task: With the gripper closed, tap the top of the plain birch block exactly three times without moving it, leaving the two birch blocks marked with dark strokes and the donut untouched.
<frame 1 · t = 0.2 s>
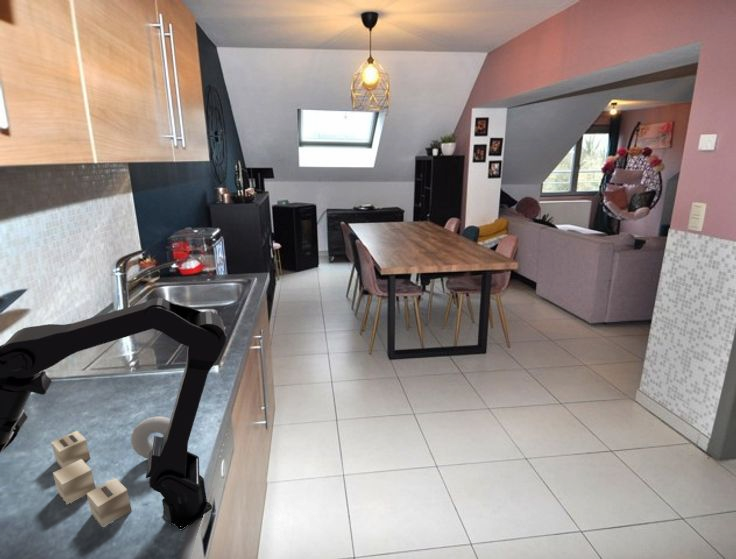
donut: (160, 457, 95), on the worktop
plain block: (77, 491, 86), on the worktop
two stroke block: (73, 460, 94), on the worktop
one stroke block: (111, 513, 81), on the worktop
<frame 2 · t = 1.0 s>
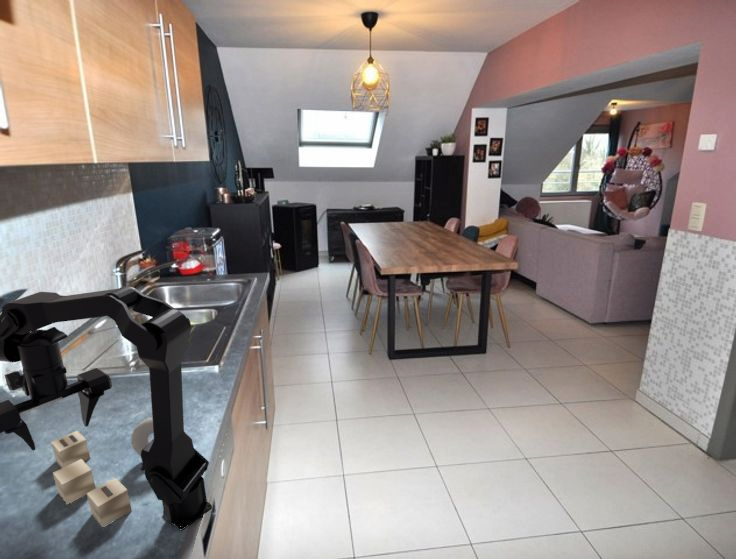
hand: (60, 437, 81), 13 cm above the worktop, tool pointing down, fingers open, 8 cm apart
nothing on the worktop moved.
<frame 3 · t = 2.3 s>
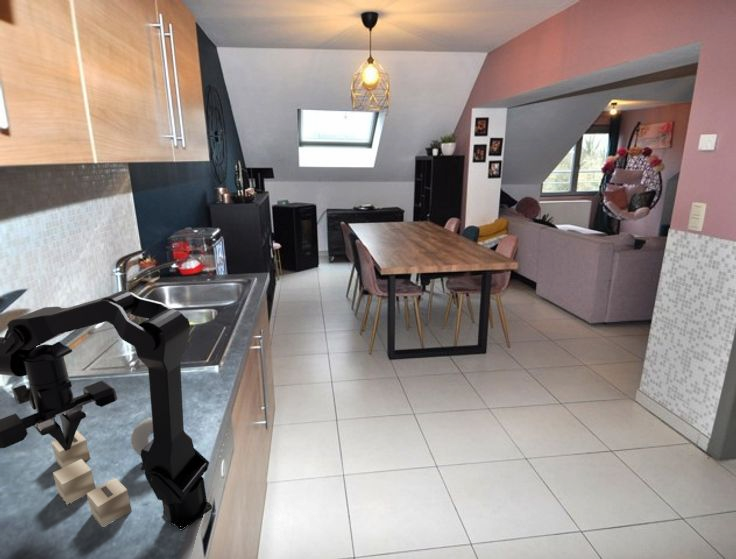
hand: (67, 449, 83), 10 cm above the worktop, tool pointing down, fingers closed
nothing on the worktop moved.
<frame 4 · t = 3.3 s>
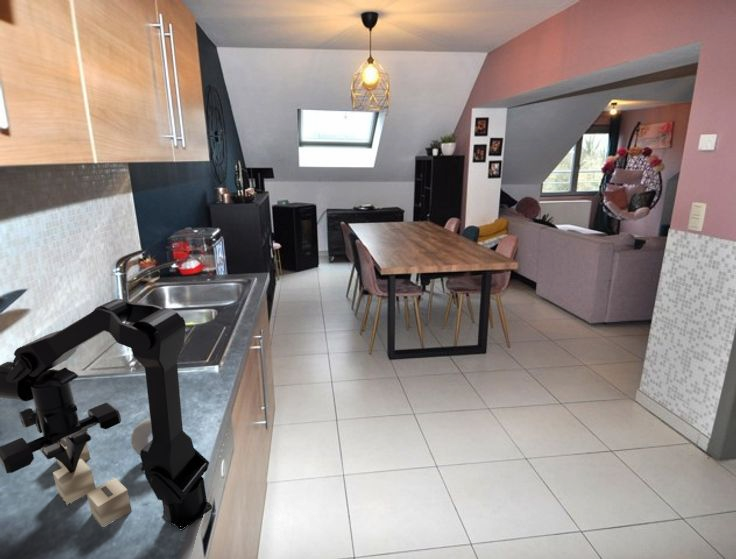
hand: (72, 471, 84), 5 cm above the worktop, tool pointing down, fingers closed, pressing on plain block
plain block: (77, 491, 86), on the worktop, touching gripper
everything else where it was.
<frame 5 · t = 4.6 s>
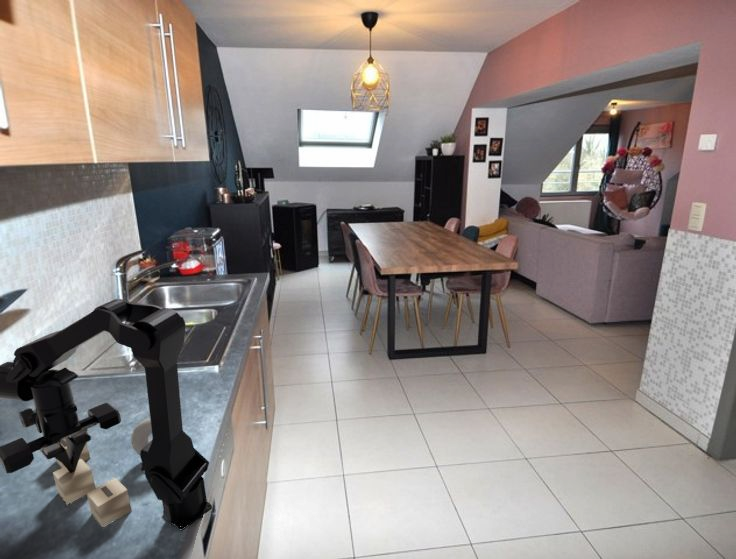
hand: (72, 471, 84), 5 cm above the worktop, tool pointing down, fingers closed, pressing on plain block
plain block: (77, 491, 86), on the worktop, touching gripper
everything else where it was.
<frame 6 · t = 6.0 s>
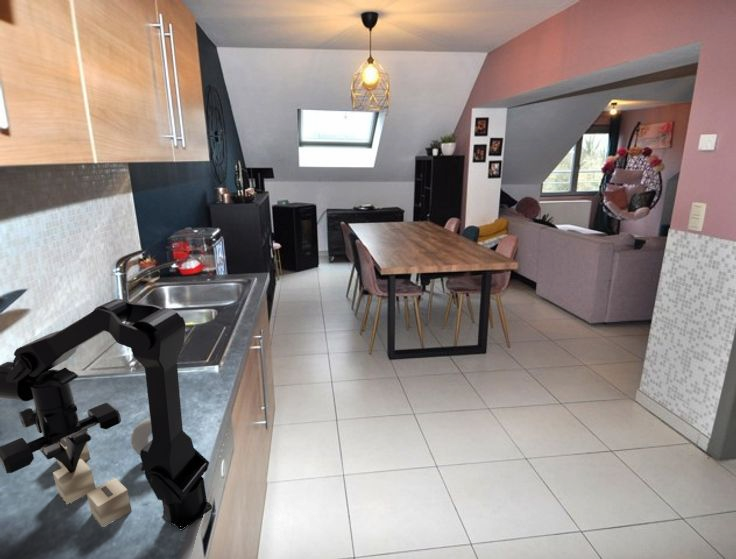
hand: (72, 471, 84), 5 cm above the worktop, tool pointing down, fingers closed, pressing on plain block
plain block: (77, 491, 86), on the worktop, touching gripper
everything else where it was.
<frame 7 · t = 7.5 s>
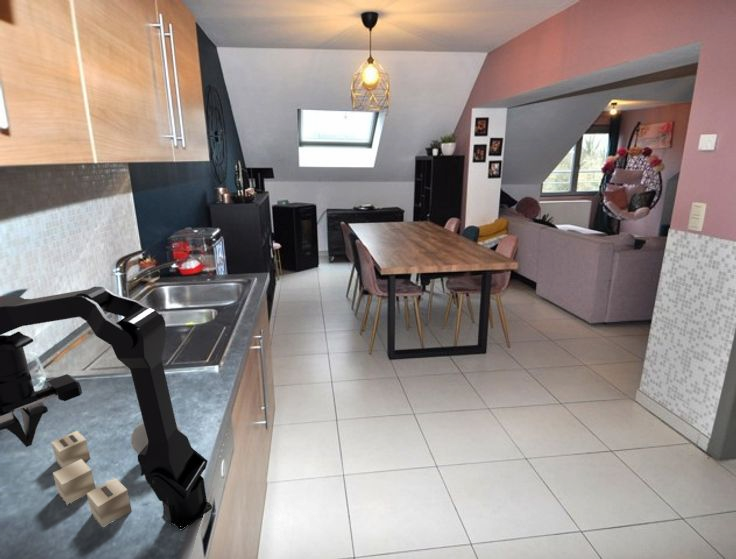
hand: (28, 445, 79), 13 cm above the worktop, tool pointing down, fingers closed
plain block: (77, 491, 86), on the worktop
everything else where it was.
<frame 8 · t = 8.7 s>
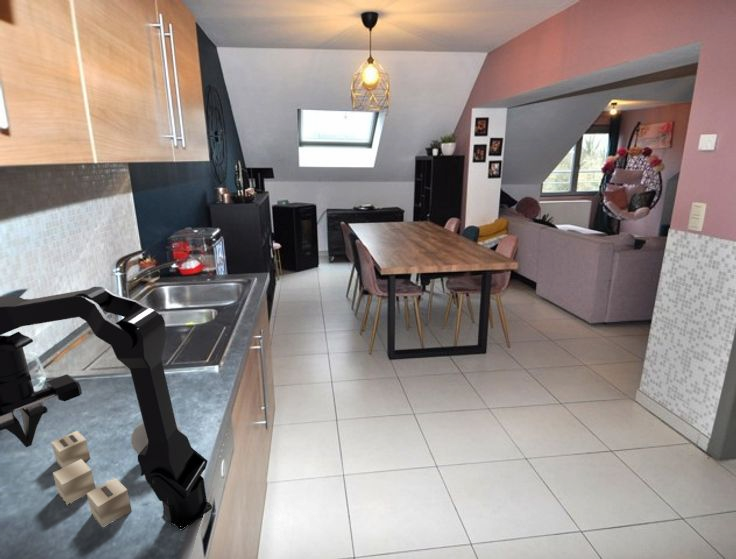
hand: (28, 445, 79), 13 cm above the worktop, tool pointing down, fingers closed
nothing on the worktop moved.
at the end: plain block moved 0.1 cm from its start; plain block tilted 0°; one stroke block moved 0.1 cm from its start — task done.
